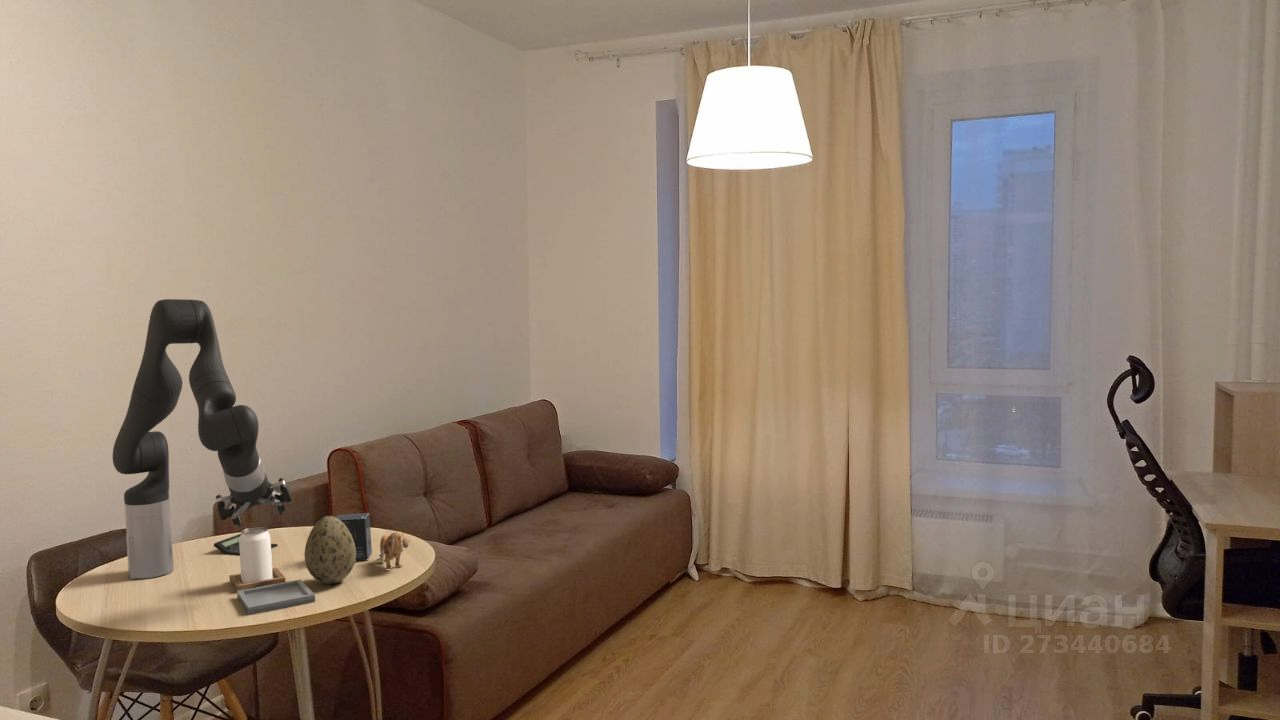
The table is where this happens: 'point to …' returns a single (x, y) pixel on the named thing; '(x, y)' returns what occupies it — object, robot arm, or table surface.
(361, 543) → the box
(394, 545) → the lion figurine
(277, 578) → the frame
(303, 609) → the table surface
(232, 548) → the calculator
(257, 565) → the can
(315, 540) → the decorative egg
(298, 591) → the tray
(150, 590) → the table surface
